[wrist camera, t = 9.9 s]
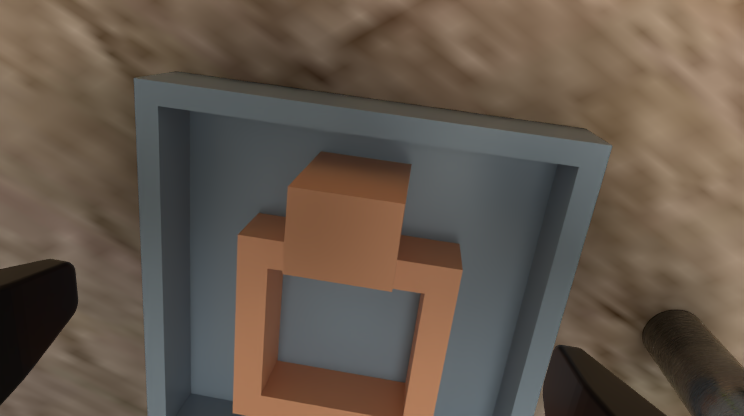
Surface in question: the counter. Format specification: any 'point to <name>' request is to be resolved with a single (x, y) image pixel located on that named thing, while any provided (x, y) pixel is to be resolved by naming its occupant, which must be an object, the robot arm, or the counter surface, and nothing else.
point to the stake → (696, 364)
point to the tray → (421, 219)
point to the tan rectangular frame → (345, 266)
